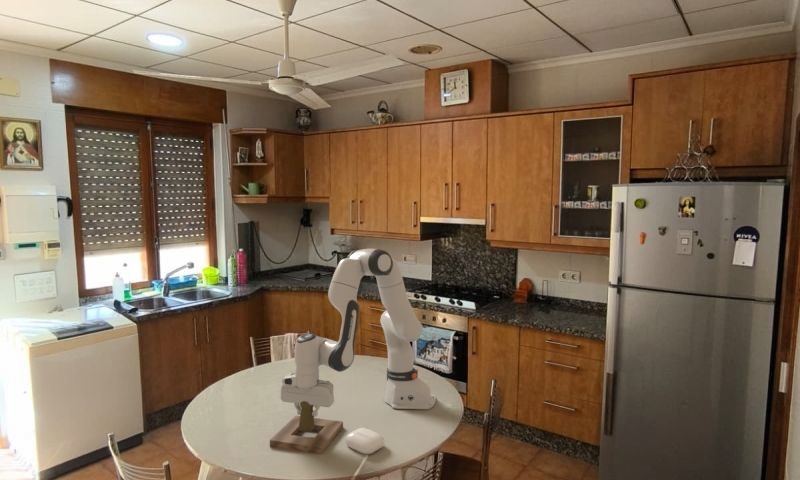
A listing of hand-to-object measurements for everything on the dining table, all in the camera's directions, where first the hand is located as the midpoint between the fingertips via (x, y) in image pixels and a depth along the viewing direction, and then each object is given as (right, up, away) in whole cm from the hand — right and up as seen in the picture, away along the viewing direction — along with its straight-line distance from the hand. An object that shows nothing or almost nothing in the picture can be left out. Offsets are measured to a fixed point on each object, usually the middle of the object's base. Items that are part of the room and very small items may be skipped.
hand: (307, 415), depth 176 cm
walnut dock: (0, -9, +1) cm, 9 cm away
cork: (0, -5, +1) cm, 5 cm away
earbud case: (+22, -10, -6) cm, 24 cm away
